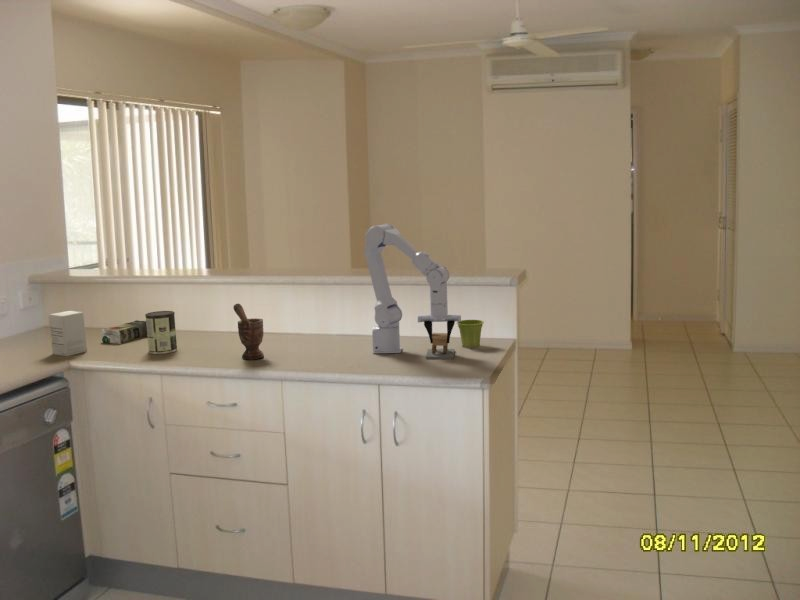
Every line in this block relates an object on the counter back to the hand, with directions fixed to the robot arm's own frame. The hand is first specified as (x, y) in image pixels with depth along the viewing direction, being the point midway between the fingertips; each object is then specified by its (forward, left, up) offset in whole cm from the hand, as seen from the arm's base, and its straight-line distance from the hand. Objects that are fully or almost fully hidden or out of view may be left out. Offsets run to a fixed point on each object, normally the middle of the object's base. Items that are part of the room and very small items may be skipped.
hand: (440, 342), depth 300 cm
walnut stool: (0, 0, -3) cm, 3 cm away
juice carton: (-125, +38, -5) cm, 131 cm away
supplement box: (-137, +12, -4) cm, 138 cm away
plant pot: (+10, +14, -4) cm, 18 cm away
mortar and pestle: (-65, -2, -4) cm, 65 cm away
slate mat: (0, 0, -4) cm, 4 cm away
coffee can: (-102, +13, -4) cm, 103 cm away
